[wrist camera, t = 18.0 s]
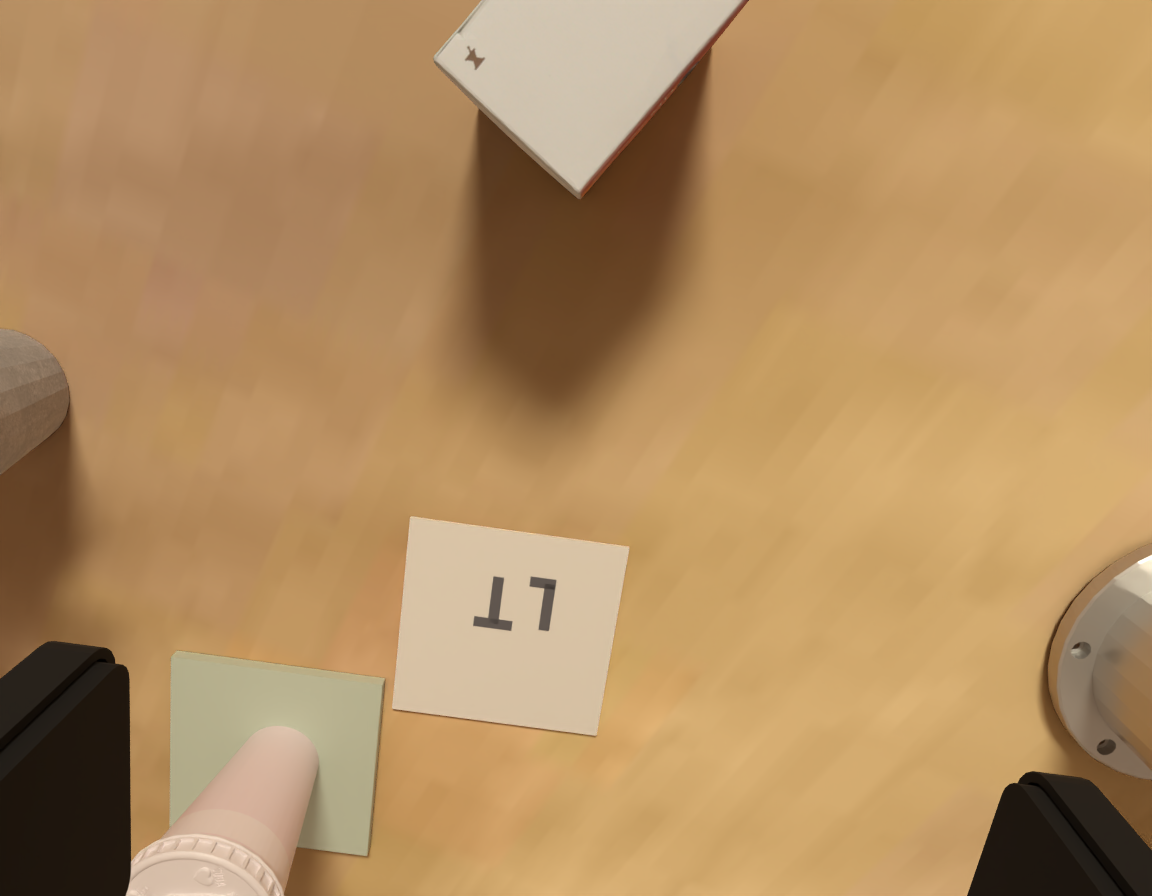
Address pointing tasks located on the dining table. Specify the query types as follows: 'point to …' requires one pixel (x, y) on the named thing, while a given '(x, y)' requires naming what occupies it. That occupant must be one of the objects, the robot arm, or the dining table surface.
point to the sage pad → (280, 698)
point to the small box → (579, 72)
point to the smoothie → (236, 825)
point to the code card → (507, 625)
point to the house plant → (28, 396)
